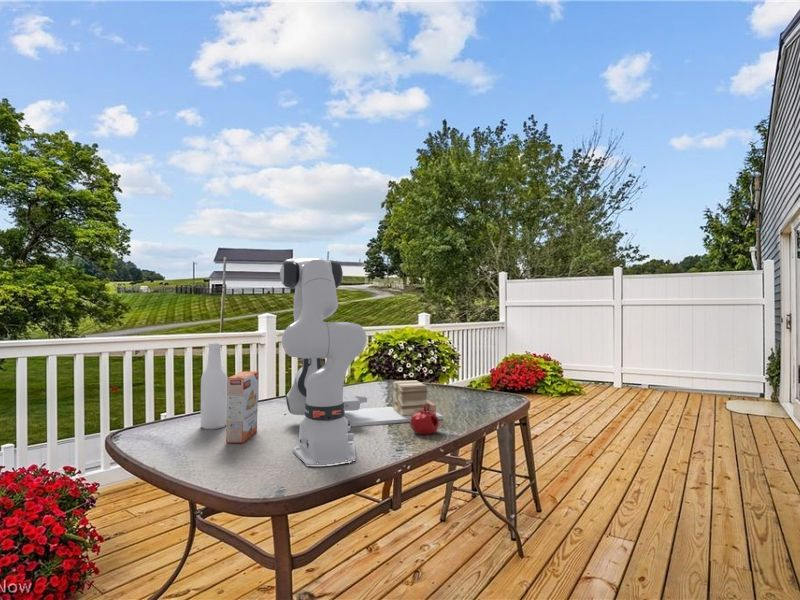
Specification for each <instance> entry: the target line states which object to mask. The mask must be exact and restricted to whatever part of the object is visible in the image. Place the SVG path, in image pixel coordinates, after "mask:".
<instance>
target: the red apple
mask: <svg viewBox="0 0 800 600" xmlns="http://www.w3.org/2000/svg"><path fill="white" fill-rule="evenodd" d="M423 407H424V410H423V412H422V411H420V410H418V412H419V411H420V412H419V413H416V414H414V415H413V416H412V417H411V420H410V422H409V424H410V428H411V429H412V431H414V432H415V433H416V434H418V433H420V434H419V435H432V434H431V433H433V434H435V433H436V432H437V430H438V428H439V424H440V421H439V420H440V419H439V420H438V418H437V417H436V415H435V414H433V412H435V411H433V410H431V411H433V412H432V413H431V411H426V405H424V406H423Z"/></svg>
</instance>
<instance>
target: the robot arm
mask: <svg viewBox="0 0 800 600" xmlns="http://www.w3.org/2000/svg"><path fill="white" fill-rule="evenodd" d="M279 277H280V280H281V283H282V285H283V286H284V287H285V288H288V289H294V296H293V303H292V304H293V322H292V323H291V324H289V325H288V326H287V327H286V328H285V329H284V331H283V334H282V337H281V345H282V348H283V350H284V352H285V354H286V355H288V356H289V357H290V358H297V359H302V366H301V367H300V368H299V369H298V370H297V372H296V374H295V377H294V380H293V384H292V385H291V387H290V390H289V391H288V392H287V394H286V396H285V400H286V406H287V409H288V412H289V414H291V415H294V416H304V417H303V420H302V421H301V422H300V423H299V431H298V432H299V433H298V434H299V435H298V445H297V446H294V447H293V448H292V452H293V453H294V455H296V457H297V458H298V459H299V460H300V459H301V460H302V461H303V462H304V463H305V464H306V465H327V464H335V463H341V462H348V461H353V460H355V459H357V458H356V457H357V456H356V446H355V445H356V444H355V442H354V438H355V437H354V432H350V431H351V430H352V429H351V426H350V425H349V423H348V419H347V418H345V417H344V415H345V411H354V410H359V409H361V404H362V403H367V402H368V397H366V396H364V395H363V396H359V395H354V394H353V393H351V392H350V391H349V390H344V384H345V377H346V374H347V371H348V369H349V367H350V365H351V364H352V362H354V360H355V359H356V358H357V357H358V356H359V355H360V354H362V353H363V352H364V350H365V349H366V346H367V342H368V339H367V338H368V337H367V333H366V330H365V329H364V328H363V326H362V325H361V324H358V323H354V322H348V321H324V320H326V319H328V318H329V317H332V315H333V314H335V313H336V312H337V309H338V307H339V301H338V300H339V299H338V294H337V288H338V287H340V286H341V285H342V281H343V278H344V271H343V268H342V265H341V263H340V262H339V261H336V260H332V259H329V260H325V259H322V258H318V257H317V258H310V257H309V258H308V257H307V258H296V259H295V258H289V259H288V258H287V259H285V260H284V261H283V262H282V265H281V267H280V269H279ZM322 359H326V360H325V363H324V365H322ZM349 432H350V433H349ZM301 460H300V461H301ZM345 460H347V461H345ZM302 461H301V462H302ZM303 462H302V463H303ZM304 463H303V464H304ZM317 463H318V464H317ZM305 464H304V465H305ZM306 465H305V466H306Z"/></svg>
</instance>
